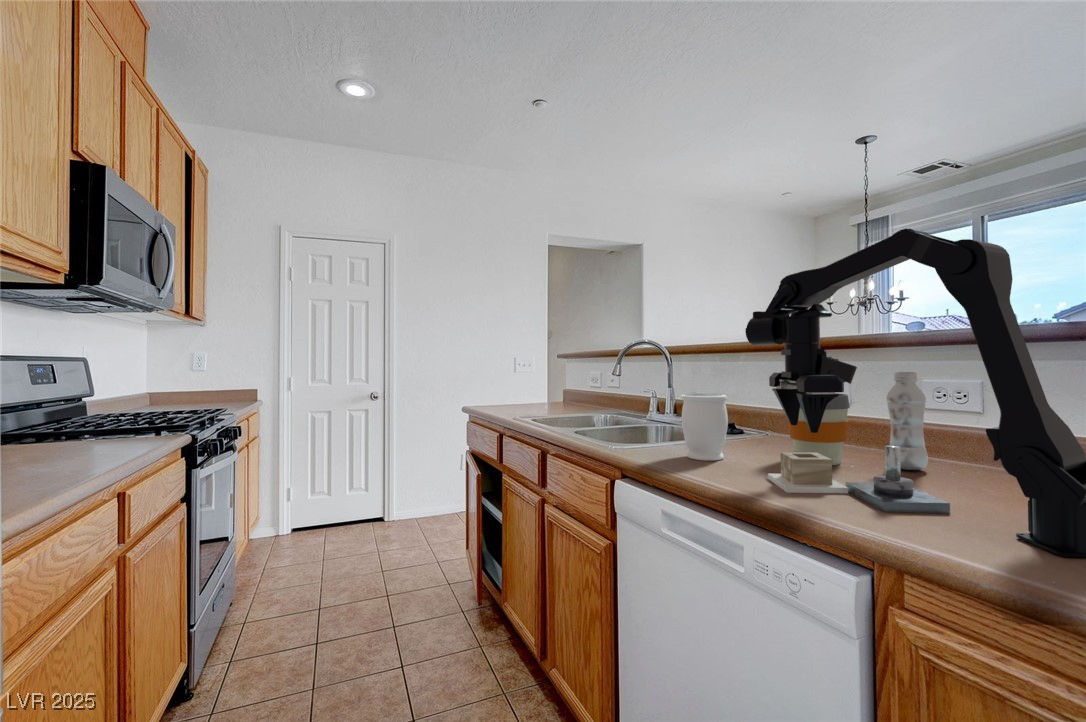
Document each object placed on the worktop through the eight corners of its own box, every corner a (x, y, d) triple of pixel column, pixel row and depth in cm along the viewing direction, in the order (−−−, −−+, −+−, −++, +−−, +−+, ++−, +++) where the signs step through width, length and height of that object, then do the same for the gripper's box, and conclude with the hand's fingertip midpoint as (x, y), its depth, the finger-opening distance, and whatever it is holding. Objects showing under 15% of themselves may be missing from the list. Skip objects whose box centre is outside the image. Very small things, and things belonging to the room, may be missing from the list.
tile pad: (848, 493, 83) (848, 487, 83) (786, 492, 84) (786, 486, 84) (822, 479, 93) (822, 473, 93) (767, 478, 94) (767, 473, 94)
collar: (832, 485, 85) (831, 459, 85) (793, 484, 86) (793, 459, 86) (816, 476, 91) (816, 452, 91) (781, 475, 92) (780, 452, 92)
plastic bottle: (912, 474, 95) (910, 372, 95) (879, 467, 101) (877, 372, 101) (936, 471, 97) (934, 371, 96) (903, 464, 103) (901, 371, 103)
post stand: (950, 513, 72) (948, 454, 72) (884, 511, 73) (883, 453, 73) (901, 491, 84) (900, 440, 84) (845, 490, 85) (844, 440, 85)
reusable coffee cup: (774, 458, 113) (773, 394, 113) (815, 453, 117) (814, 391, 117) (820, 469, 101) (819, 397, 101) (865, 464, 105) (863, 395, 105)
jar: (673, 455, 119) (672, 394, 118) (709, 452, 122) (708, 392, 122) (700, 463, 108) (698, 397, 108) (738, 460, 111) (737, 395, 111)
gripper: (877, 341, 78) (879, 437, 78) (826, 344, 97) (827, 421, 97) (804, 342, 80) (806, 437, 80) (767, 345, 98) (769, 422, 98)
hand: (803, 428), depth 89 cm, fingers open, 9 cm apart
